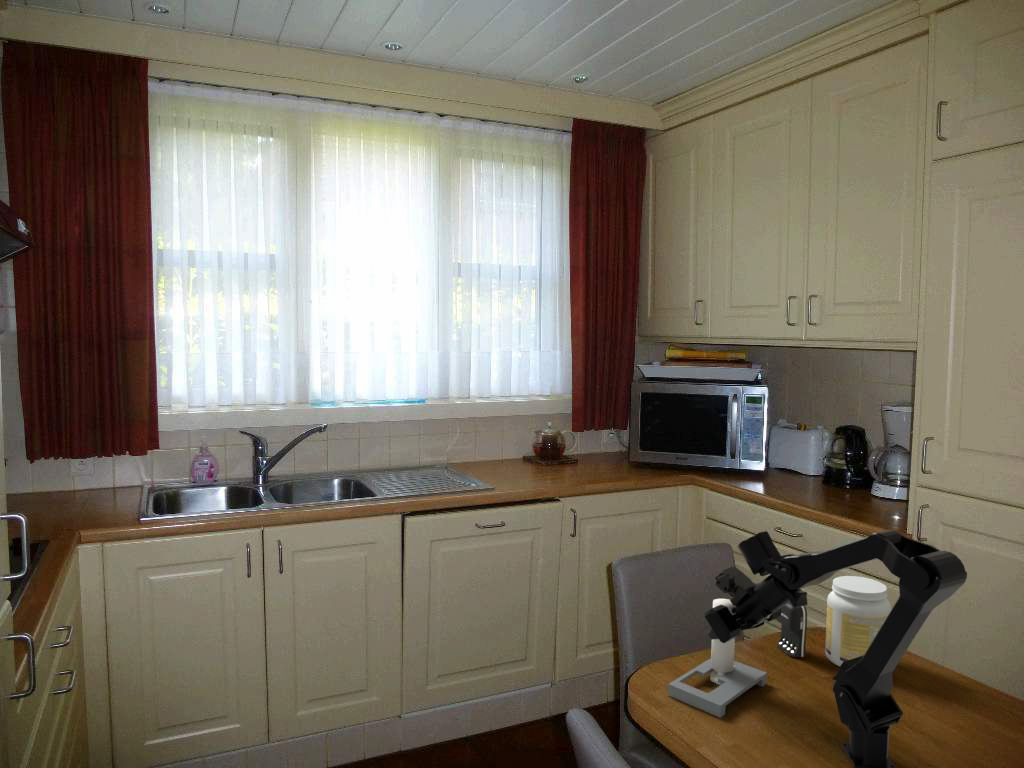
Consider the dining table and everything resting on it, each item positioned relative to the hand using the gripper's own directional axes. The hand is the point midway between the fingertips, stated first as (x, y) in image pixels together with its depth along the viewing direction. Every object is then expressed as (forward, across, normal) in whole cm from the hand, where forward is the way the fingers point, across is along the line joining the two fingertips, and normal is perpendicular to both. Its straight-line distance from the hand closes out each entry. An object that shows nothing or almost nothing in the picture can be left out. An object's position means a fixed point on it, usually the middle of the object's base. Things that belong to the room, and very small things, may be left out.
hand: (717, 633), depth 148 cm
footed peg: (+6, 0, +8) cm, 9 cm away
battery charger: (+4, -22, +9) cm, 24 cm away
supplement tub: (-4, -29, +17) cm, 34 cm away
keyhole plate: (+4, +4, +9) cm, 10 cm away
